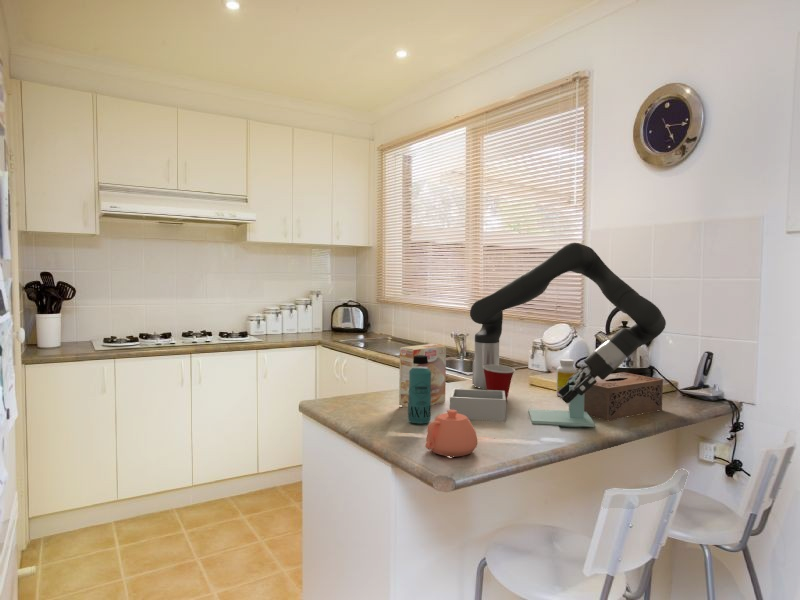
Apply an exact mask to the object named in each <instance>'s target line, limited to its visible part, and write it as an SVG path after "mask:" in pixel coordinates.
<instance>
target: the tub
mask: <svg viewBox="0 0 800 600" xmlns="http://www.w3.org/2000/svg"><path fill="white" fill-rule="evenodd" d="M506 408H507V401H506V397H505V391H499V390H487V389H472V388H471V389H469V388H452V390H451V393H450V395H449V410H456V411H457V413H458V414H462V415H465V416H466V417H467V418H468V419H469V421H489V422H491V421H492V422H506V415H507V414H506V413H507V411H506V410H507V409H506Z"/></svg>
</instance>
